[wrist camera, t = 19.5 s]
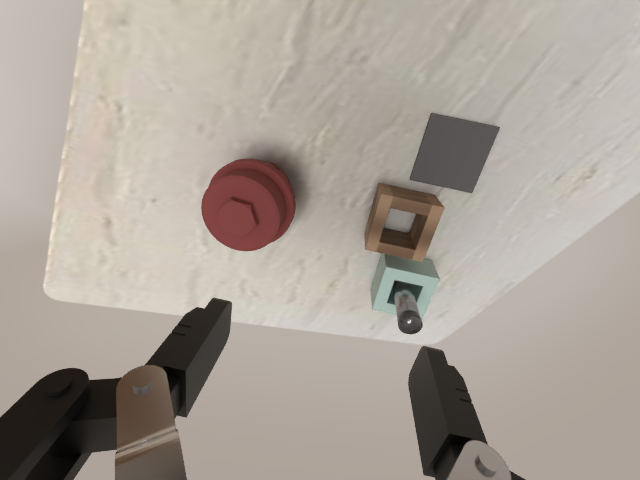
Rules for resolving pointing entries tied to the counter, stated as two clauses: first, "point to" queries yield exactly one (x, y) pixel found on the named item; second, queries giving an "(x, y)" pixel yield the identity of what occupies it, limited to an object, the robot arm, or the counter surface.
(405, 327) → the cylinder
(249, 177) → the mechanical component
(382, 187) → the wooden square frame
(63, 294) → the counter surface
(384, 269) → the teal block
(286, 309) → the counter surface
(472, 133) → the mat
